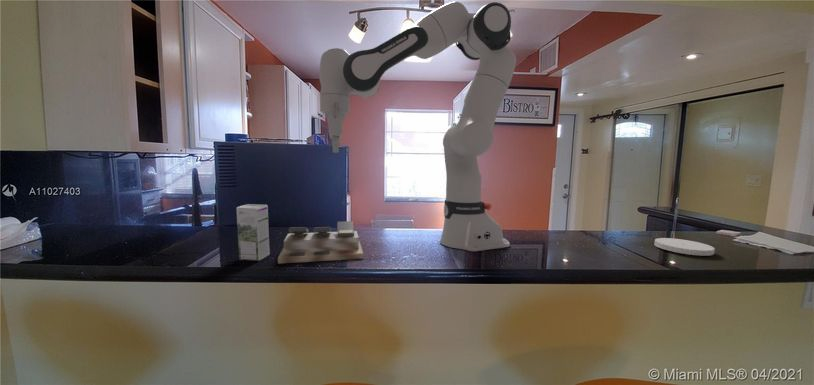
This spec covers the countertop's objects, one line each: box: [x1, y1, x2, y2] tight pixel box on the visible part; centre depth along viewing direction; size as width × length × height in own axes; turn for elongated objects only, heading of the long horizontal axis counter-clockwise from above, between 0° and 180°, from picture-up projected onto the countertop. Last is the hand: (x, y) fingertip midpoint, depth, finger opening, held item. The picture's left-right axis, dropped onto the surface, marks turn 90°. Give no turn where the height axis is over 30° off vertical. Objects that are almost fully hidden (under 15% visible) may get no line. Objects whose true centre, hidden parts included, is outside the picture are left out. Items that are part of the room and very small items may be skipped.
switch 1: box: [288, 226, 310, 234], centre depth 87 cm, size 5×7×1 cm, turn 13°
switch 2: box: [336, 220, 355, 237], centre depth 90 cm, size 5×7×1 cm, turn 13°
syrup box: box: [236, 203, 271, 262], centre depth 83 cm, size 6×6×14 cm
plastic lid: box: [654, 237, 716, 257], centre depth 96 cm, size 14×14×2 cm
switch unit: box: [277, 230, 364, 264], centre depth 87 cm, size 22×12×6 cm, turn 103°
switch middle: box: [312, 226, 332, 233], centre depth 88 cm, size 5×7×1 cm, turn 13°
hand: (335, 152), depth 94 cm, fingers closed
